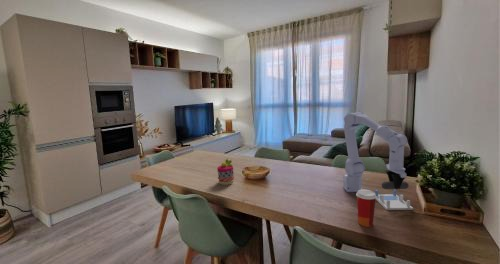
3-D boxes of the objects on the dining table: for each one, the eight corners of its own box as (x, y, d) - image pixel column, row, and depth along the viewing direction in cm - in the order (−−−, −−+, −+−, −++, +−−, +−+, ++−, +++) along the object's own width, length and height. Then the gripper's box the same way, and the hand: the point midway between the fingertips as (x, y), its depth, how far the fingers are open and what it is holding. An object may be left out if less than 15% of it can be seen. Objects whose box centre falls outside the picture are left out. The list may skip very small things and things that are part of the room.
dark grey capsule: (383, 190, 114) (383, 183, 113) (380, 187, 117) (380, 180, 117) (410, 190, 113) (410, 182, 112) (405, 187, 116) (406, 180, 116)
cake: (230, 186, 150) (229, 163, 148) (215, 185, 154) (213, 162, 151) (236, 180, 160) (235, 158, 157) (222, 179, 163) (220, 158, 161)
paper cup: (369, 218, 106) (370, 188, 103) (379, 227, 98) (380, 195, 96) (351, 219, 105) (352, 189, 103) (360, 228, 98) (361, 196, 96)
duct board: (386, 210, 112) (386, 202, 111) (372, 196, 127) (372, 189, 126) (413, 209, 111) (413, 201, 110) (396, 196, 126) (396, 188, 125)
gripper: (414, 164, 105) (412, 193, 107) (397, 155, 119) (395, 181, 122) (397, 164, 106) (396, 193, 108) (382, 155, 120) (381, 181, 122)
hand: (394, 186), depth 115 cm, fingers closed on dark grey capsule, 4 cm apart
